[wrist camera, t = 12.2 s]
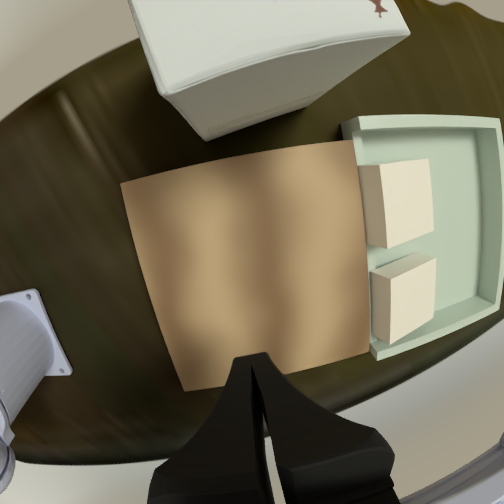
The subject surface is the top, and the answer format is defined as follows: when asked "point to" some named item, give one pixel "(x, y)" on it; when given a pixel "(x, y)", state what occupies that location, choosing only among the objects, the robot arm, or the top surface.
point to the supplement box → (258, 53)
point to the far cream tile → (402, 296)
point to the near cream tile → (396, 201)
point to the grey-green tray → (444, 213)
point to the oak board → (255, 259)
